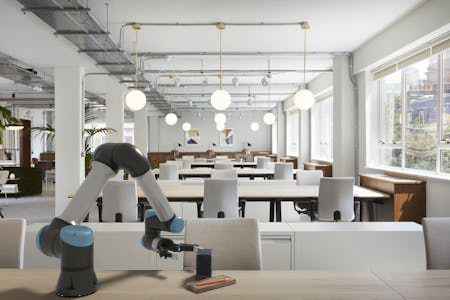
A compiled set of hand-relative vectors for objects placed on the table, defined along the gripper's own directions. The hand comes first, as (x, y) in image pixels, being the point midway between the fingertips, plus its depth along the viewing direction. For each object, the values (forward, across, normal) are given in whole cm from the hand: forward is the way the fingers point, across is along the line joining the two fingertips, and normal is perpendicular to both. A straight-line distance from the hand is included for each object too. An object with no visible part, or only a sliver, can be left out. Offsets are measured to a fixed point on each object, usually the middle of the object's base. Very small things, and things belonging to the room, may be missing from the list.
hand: (190, 254), depth 187 cm
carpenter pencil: (+22, +6, -6) cm, 24 cm away
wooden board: (+20, +4, -8) cm, 22 cm away
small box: (+10, 0, -8) cm, 12 cm away
